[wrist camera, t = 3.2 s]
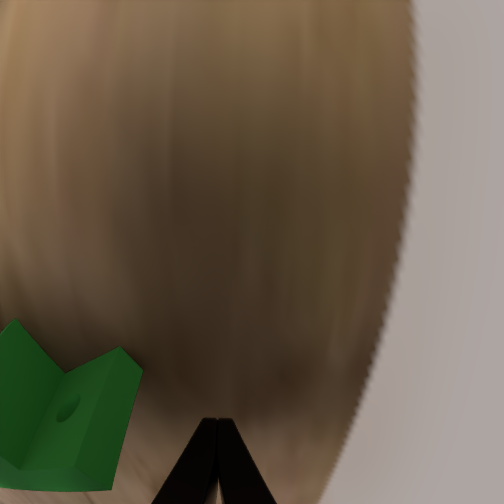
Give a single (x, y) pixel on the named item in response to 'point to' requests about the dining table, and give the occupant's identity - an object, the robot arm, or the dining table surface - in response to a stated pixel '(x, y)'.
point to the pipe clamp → (61, 416)
